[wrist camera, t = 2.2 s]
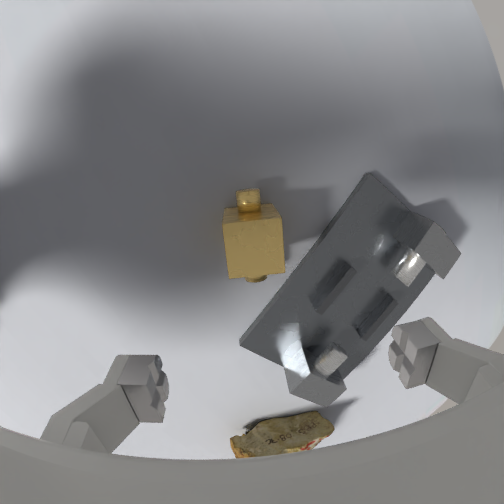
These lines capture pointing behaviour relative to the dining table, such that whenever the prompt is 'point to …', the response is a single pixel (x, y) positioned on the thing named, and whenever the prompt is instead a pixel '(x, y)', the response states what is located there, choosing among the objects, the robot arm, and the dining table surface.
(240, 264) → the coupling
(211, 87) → the dining table surface
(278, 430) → the rock
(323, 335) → the dark grey baseplate
